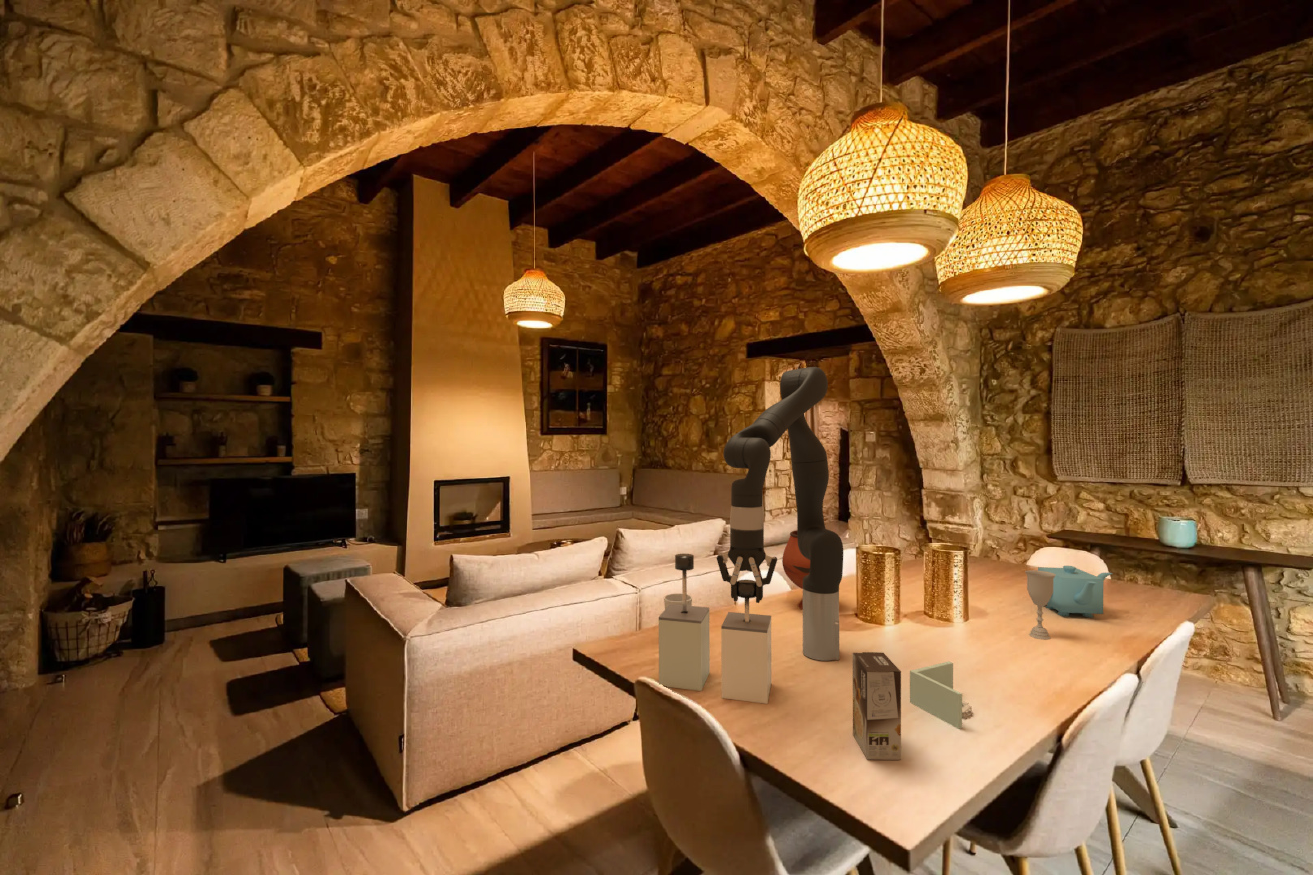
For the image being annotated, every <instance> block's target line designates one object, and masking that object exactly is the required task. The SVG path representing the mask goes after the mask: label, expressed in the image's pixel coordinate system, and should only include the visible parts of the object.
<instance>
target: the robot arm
mask: <svg viewBox="0 0 1313 875" xmlns="http://www.w3.org/2000/svg"><path fill="white" fill-rule="evenodd" d="M828 384H829V382H828V378H827V375H826V373H825V371H824V370H823V369H821V368H820V367H817V366H809V367H808V366H807V367H801V368H796V369H790V370H786V371H784V372H783V373H782V375H781V377H780V382H779V391H780V397H781V398H780V399H781V400H779V401H777V402H775V403H774V404H772V405H771V406H769V407H767V408H766V409H765V410H764V411H763V412H761V414H760V415H759V416H758V417H757V418H756V419H755V420H754V421H753V423H752V424H750V425H749V426H747V427H745V428H743V429H742V430H740V431H739V432H737V433H735V434H734V435H732V436H731V437H730V438H729V439H728V441H727V442H726V443H725V445H724V448H723V459H724V460H723V461H725V463H726V464H727V465H728V466H729V467H730V468H733V469H743V470H744V469H745V470H746V469H748V471H747V473H746V476H745V478H738V479H736V480H734V481H733V482H732V483H731V489H730V492H731V495H730V498H731V499H730V501H731V502H730V503H731V504H730V514H729V516H730V518H729V550H728V552H726V553H718V555H717V557H716V561H717V565H718V568H719V571H720V575H721V579H722V581H723V582H727V583H729V584H730V597H731V599H733V601H734V602H737V601H738V600H739V597H738V596H737V581H738V578H739V576H740V573H741V572H745V571H747V572H752V574H753V577H754V581H756V584H757V586H756V597H755V603H756V604H757V603H758V604H759V603H760V602H761V601H762V600H763V598H764V586H766V585H770V584H771V582H772V578H773V576H774V572H775V569H776V565H777V563H778V557H777V556H770V555H767V553H766V552H765V549H764V544H765V542H764V541H765V540H764V539H765V536H764V534H765V532H764V531H765V530H764V529H765V528H764V525H765V522H764V521H765V520H764V519H765V516H764V515H765V514H764V508H763V502H764V501H763V494H764V492H763V489H764V484H765V480H766V476H767V472H768V468H769V465H770V462H771V455H772V454H771V453H772V452H771V448H772V447H773V446H774V445H775V444H776V443H777V442H778V441H779V440H780V438H781V437H782V436H783V435H784V433H786V431H787V433H788V434H787V435H788V441H789V449H790V450H789V451H790V464H791V472H792V479H793V486H794V494H795V497H794V498H795V504H796V518H797V519H796V520H797V521H796V522H797V527H796V530H797V540H798V547H799V550H800V552H801V554H802V555H803V556H804V557H805V558H807V559H809V560H810V572H809V575H806V576H805V577H804V578H803V589H802V599H803V610H802V653H803V655H804V656H805V657H807V658H809V659H813V660H816V661H822V662H823V661H825V662H826V661H834V660H836V661H839V660H840V583H841V582H842V579H843V569H844V544H843V540H842V538H841V536H839V534H837V533H836V532H835V531H833V530H830V529H829V528H828V529H827V528H826V525H825V520H824V511H823V510H824V509H823V506H824V505H823V504H824V499H825V496H826V492H827V489H828V484H829V479H830V478H829V477H830V474H829V473H830V471H829V462H828V454H827V452H826V448H825V447H824V445H823V443H822V442H821V441H820V440H819V438H818V437H817V435H816V434H815V433H814V431H813V429H811V426H809V424H808V422H807V420H806V415H805V413H807V412H808V411H810V409H812V408H813V407H815V405H817V404H818V403H820V402H821V401H822V400H823V399H824V398H825V396H826V394H827V392H828V389H829V388H828V387H829V386H828ZM728 559H729V560H730V561H731V563H732V564H733V565H734V569H733V571H732V575H730V573H729V570H728V566H727V562H728ZM764 561H765V562H766V566H767V567H768V570H767V573H766V576H765V577H763V576H762V575H763V574H762V572H761V571H762V570H761V568H760V566H761V565H762V564H763V562H764Z"/></svg>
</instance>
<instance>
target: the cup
mask: <svg viewBox="0 0 1313 875" xmlns="http://www.w3.org/2000/svg"><path fill="white" fill-rule="evenodd" d="M663 603H664V610H665V609H666V608H667V607H668V606H669V604H673V605H682V593H676V592H675V593H669V594H666V595H665V596H663ZM687 606H693V597H692V596H691V594H690V595H689V594H687Z"/></svg>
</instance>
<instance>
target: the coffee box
mask: <svg viewBox="0 0 1313 875" xmlns="http://www.w3.org/2000/svg"><path fill="white" fill-rule="evenodd" d="M851 654H852V655H851V656H852V736H853V737H854V739H855V740H856V742H857V744H858V746H859V748H860V749H861V751H862V752H863V754H864V756H865V758H866V759H867V760H874V761H875V760H880V761H881V760H887V761H891V760H892V761H895V760H896V761H900V760H901V758H902V732H901V731H902V688H901V687H902V671H901V670H900V669H899V667H898V666H897V665H896V664H895V663H893V661H892V660H891V659H890V658H889V656H887V655H886V654H885V653H884V652H882V651H881V652H878V651H877V652H876V651H865V652H864V651H863V652H852V653H851Z"/></svg>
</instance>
